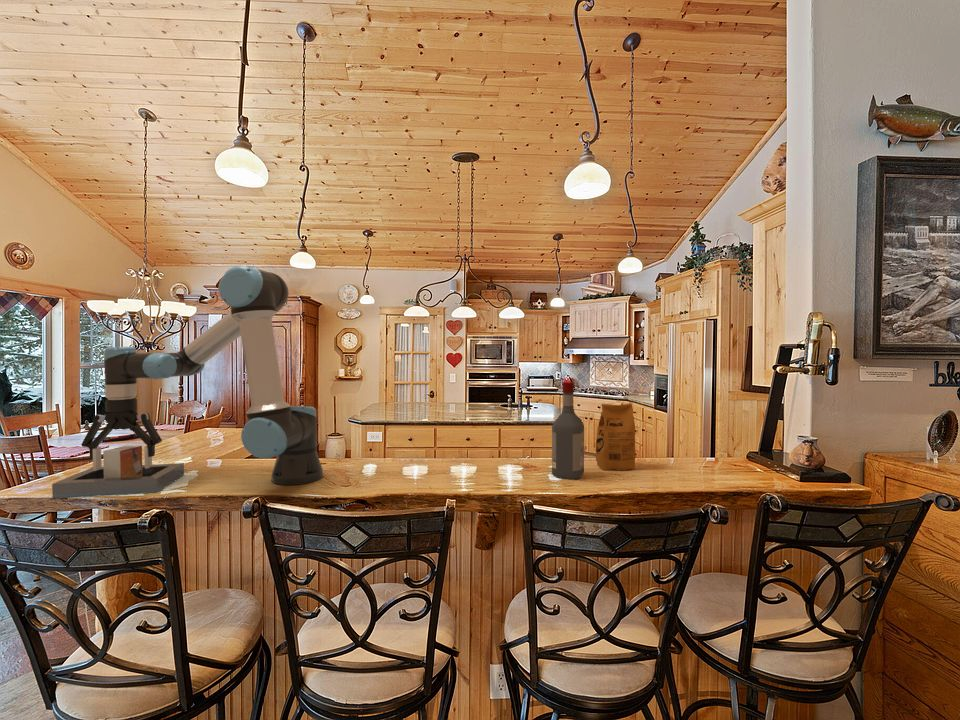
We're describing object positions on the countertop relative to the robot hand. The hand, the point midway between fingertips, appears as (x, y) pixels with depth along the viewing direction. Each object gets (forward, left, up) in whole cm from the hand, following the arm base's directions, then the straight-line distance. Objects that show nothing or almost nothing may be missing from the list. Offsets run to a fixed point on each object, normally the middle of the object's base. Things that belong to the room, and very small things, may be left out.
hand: (123, 468), depth 141 cm
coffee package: (-155, +10, -5) cm, 155 cm away
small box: (0, 0, -4) cm, 4 cm away
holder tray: (0, 0, -5) cm, 5 cm away
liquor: (-135, +16, -5) cm, 136 cm away
